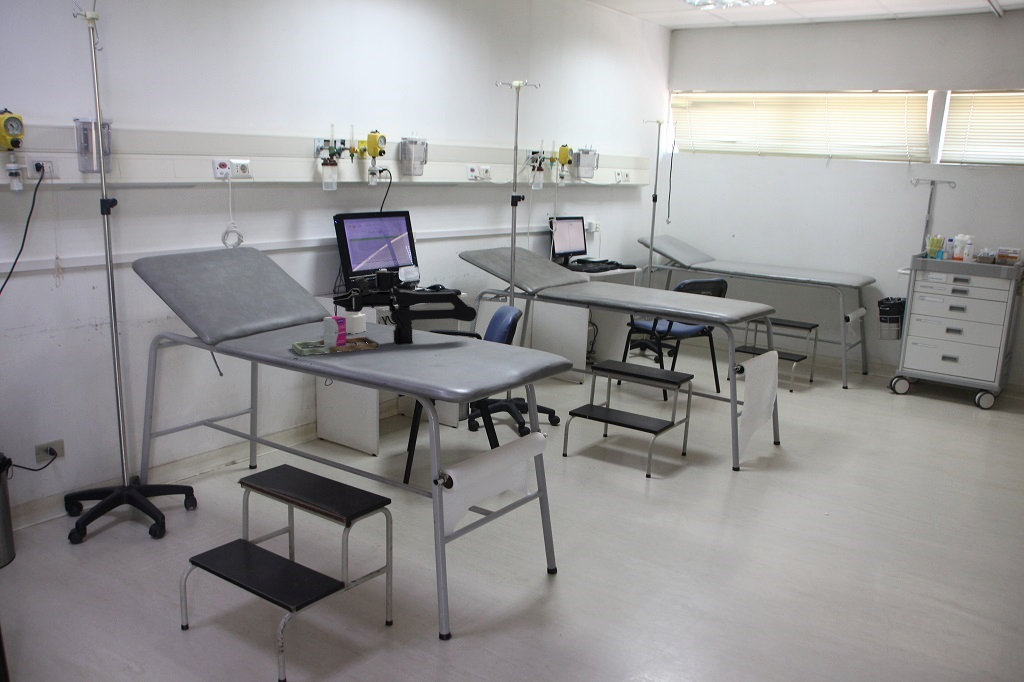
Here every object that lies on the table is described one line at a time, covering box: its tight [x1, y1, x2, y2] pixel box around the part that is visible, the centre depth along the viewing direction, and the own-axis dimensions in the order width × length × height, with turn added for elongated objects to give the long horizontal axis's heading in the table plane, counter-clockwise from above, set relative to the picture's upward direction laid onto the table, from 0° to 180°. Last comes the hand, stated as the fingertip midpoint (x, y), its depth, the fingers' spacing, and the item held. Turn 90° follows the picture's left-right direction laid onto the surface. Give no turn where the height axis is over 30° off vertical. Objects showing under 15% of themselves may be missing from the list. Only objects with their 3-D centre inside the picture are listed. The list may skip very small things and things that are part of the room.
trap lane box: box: [291, 336, 380, 357], centre depth 294 cm, size 28×14×2 cm, turn 117°
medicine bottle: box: [339, 308, 367, 335], centre depth 324 cm, size 7×7×12 cm
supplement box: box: [323, 315, 347, 348], centre depth 293 cm, size 6×6×12 cm
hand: (333, 300), depth 297 cm, fingers open, 9 cm apart
